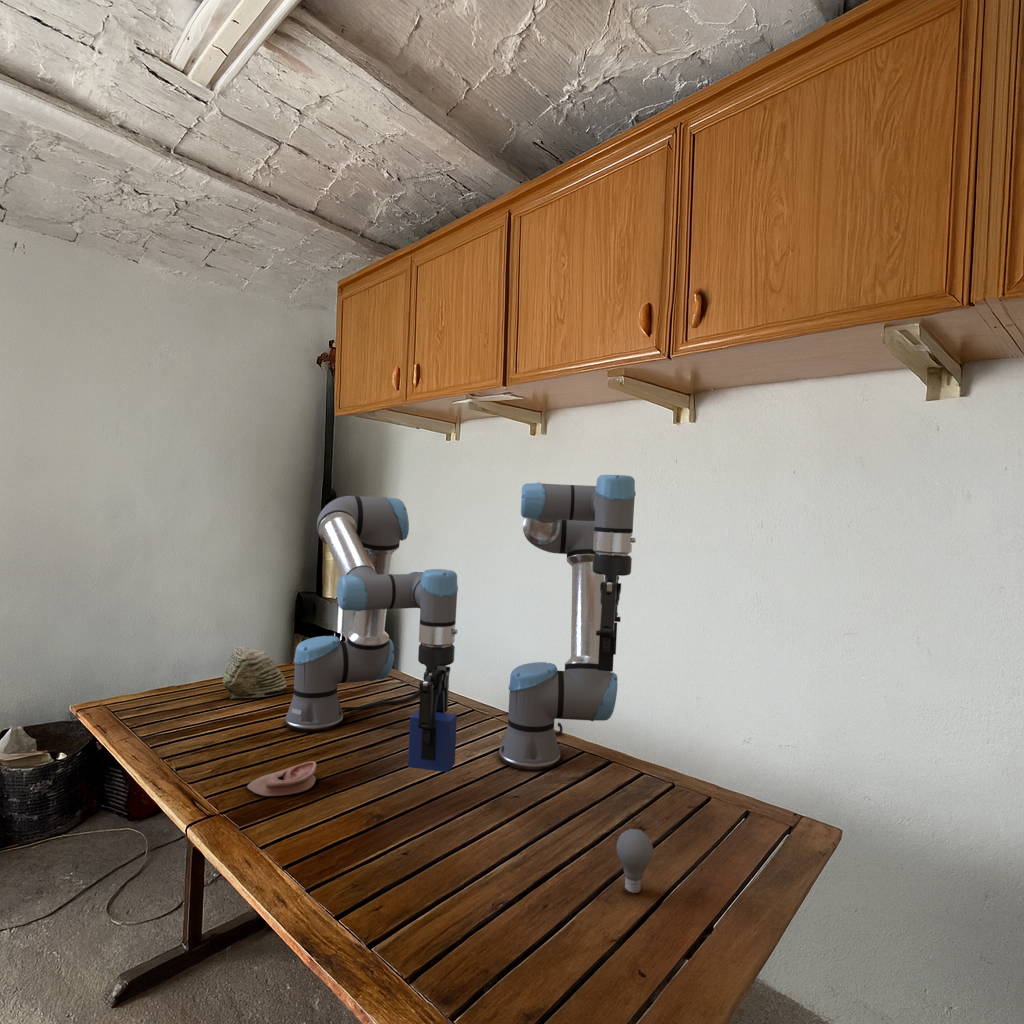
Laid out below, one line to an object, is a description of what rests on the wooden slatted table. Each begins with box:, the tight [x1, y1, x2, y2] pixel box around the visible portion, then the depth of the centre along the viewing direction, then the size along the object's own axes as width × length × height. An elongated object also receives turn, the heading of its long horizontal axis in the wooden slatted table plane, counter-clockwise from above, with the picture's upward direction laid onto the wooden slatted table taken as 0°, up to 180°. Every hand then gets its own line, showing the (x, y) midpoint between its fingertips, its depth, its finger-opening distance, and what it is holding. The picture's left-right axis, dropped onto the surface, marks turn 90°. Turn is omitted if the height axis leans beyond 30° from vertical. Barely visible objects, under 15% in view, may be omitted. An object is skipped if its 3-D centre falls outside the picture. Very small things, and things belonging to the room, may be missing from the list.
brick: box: [407, 709, 458, 773], centre depth 133 cm, size 9×5×11 cm, turn 79°
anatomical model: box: [246, 760, 317, 797], centre depth 138 cm, size 13×4×12 cm
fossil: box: [222, 646, 288, 699], centre depth 198 cm, size 9×18×15 cm, turn 132°
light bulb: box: [615, 828, 654, 894], centre depth 106 cm, size 6×6×10 cm
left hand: (432, 753), depth 133 cm, fingers closed on brick, 5 cm apart
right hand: (607, 661), depth 124 cm, fingers open, 13 cm apart
